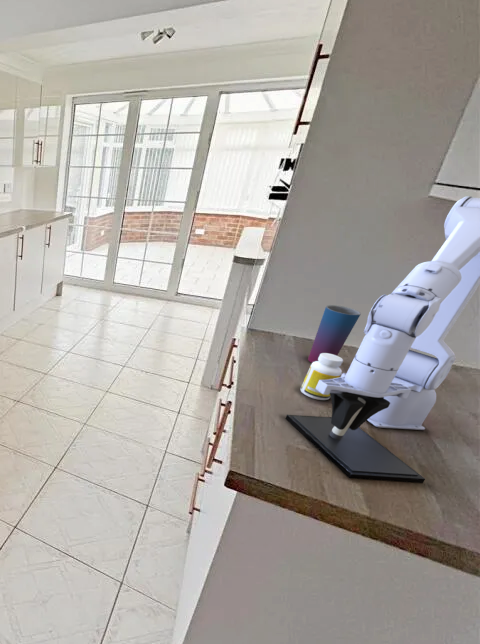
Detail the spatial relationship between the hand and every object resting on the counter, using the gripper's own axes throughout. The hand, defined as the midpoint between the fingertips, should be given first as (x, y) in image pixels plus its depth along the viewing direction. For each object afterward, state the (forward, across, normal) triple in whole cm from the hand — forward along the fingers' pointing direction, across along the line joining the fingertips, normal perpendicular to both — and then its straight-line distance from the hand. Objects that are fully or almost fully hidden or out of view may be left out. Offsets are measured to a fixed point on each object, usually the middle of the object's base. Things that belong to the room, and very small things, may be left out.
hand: (343, 426), depth 76 cm
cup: (+4, -22, -35) cm, 41 cm away
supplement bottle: (+4, -9, -18) cm, 20 cm away
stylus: (+3, 0, 0) cm, 3 cm away
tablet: (+4, -2, +1) cm, 4 cm away
